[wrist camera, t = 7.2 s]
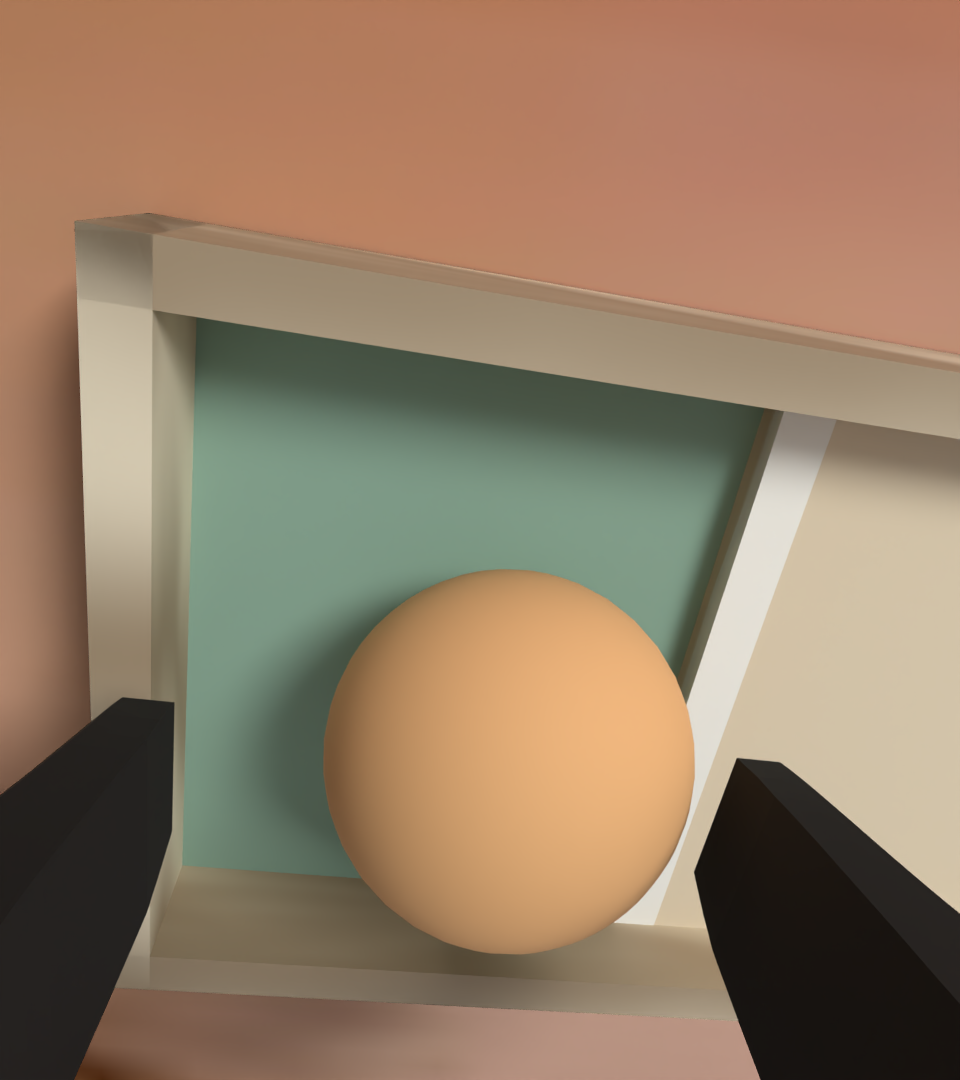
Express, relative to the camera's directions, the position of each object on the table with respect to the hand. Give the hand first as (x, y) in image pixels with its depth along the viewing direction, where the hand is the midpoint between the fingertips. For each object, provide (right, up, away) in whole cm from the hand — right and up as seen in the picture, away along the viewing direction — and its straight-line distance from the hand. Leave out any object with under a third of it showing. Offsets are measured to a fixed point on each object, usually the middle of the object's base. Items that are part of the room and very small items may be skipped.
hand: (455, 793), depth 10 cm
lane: (+3, +1, +4) cm, 5 cm away
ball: (0, +1, +3) cm, 3 cm away
